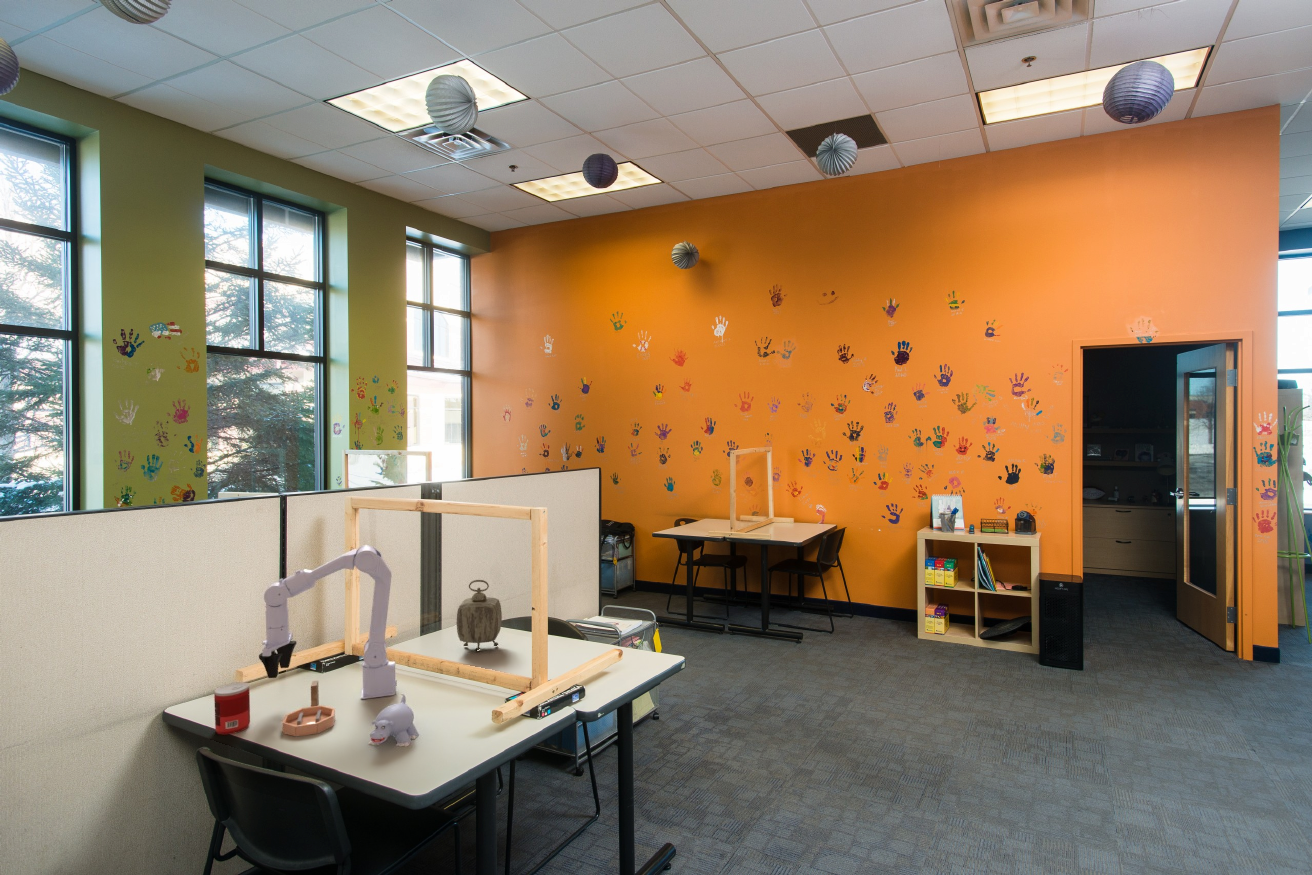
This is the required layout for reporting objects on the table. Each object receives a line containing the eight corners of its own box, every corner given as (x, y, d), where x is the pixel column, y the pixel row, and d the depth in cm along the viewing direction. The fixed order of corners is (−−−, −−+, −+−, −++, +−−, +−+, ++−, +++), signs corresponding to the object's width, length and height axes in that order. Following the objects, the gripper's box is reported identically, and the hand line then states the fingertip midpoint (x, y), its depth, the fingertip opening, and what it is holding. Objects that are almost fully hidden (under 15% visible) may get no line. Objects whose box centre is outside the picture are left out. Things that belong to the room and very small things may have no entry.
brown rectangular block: (318, 704, 200) (318, 680, 200) (317, 709, 196) (316, 685, 196) (312, 704, 199) (312, 681, 199) (311, 710, 196) (310, 686, 195)
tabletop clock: (502, 645, 250) (501, 576, 250) (497, 653, 241) (496, 582, 240) (461, 646, 250) (460, 577, 249) (455, 654, 241) (454, 583, 240)
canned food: (256, 724, 187) (255, 683, 187) (230, 737, 180) (229, 695, 179) (235, 720, 190) (234, 680, 189) (208, 732, 182) (207, 691, 182)
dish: (336, 712, 194) (336, 703, 194) (332, 731, 183) (332, 721, 183) (287, 719, 190) (287, 709, 190) (280, 738, 179) (280, 728, 179)
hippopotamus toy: (355, 755, 170) (354, 717, 170) (386, 727, 185) (385, 692, 185) (397, 757, 169) (396, 719, 168) (424, 729, 184) (424, 694, 183)
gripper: (274, 618, 204) (275, 663, 205) (250, 634, 190) (251, 682, 190) (299, 617, 205) (300, 662, 206) (277, 633, 191) (278, 681, 191)
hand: (278, 672), depth 198 cm, fingers open, 7 cm apart
